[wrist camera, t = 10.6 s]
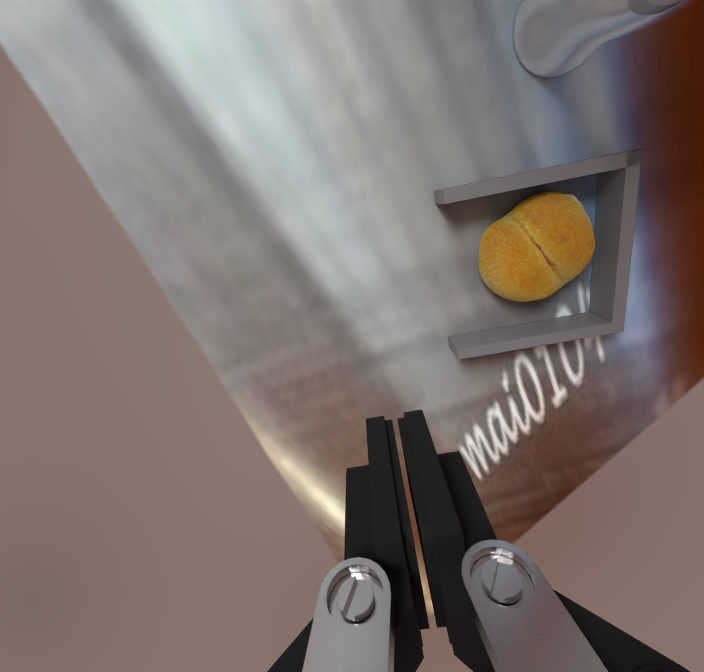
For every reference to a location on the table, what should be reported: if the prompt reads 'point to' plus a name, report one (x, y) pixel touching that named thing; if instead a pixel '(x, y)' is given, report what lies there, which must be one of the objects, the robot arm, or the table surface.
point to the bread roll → (536, 247)
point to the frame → (608, 257)
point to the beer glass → (581, 28)
